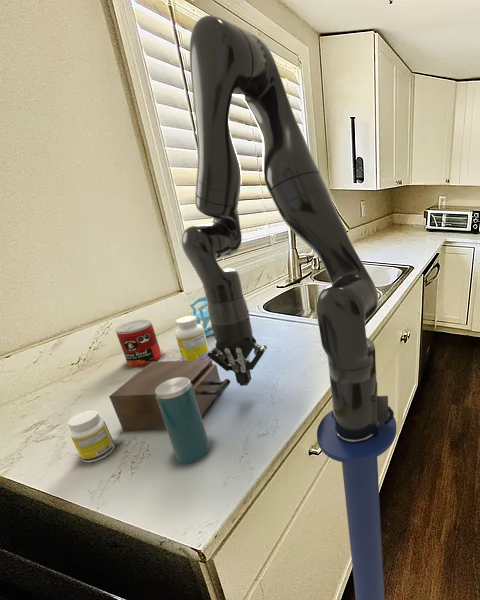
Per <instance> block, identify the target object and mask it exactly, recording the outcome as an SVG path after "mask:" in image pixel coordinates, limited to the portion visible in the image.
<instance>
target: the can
mask: <svg viewBox="0 0 480 600" xmlns="http://www.w3.org/2000/svg"><path fill="white" fill-rule="evenodd" d="M155 392H156V396H155V397H156V400H157V403H158V406H159V409H160V412H161V415H162V418H163V420H164V423H165V426H166V429H165V430H166V432H167V435H168V438H169V440H170V444H171V446H172V449H173V452H174V455H175V458H176V461H177V462H178V463H180V464H182V465H187V464H193V463H195V462H197V461H200V460H201V459H202V458H203V457H205V456H206V455H207V454H208V452H209V451H210V449H211V444H210V441H209V437H208V434H207V430H206V427H205V423H204V420H203V418H202V417H203V415H202V416H201V413H200V409H199V406H198V402H197V399H196V396H195V392H194V389H193V385H192V383H190V380H189V379H188V378H185V377H178V378H173V379H170V380H167V381H165V382H163V383H162V384H160V385H159V386H158V387H157V388H156V390H155Z"/></svg>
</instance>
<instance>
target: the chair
mask: <svg viewBox="0 0 480 600" xmlns="http://www.w3.org/2000/svg"><path fill="white" fill-rule="evenodd" d="M200 302H203V303H202V304H201V305H200V306H198V307H197V309H196V307H195V305H196V304H198V303H200ZM189 306H190V308H191V309H192V313H190V316H196V318H197V324H200V325H201V322H202V326H203V328H204V332H205V336H206V337H209V336H212V335H213V336H214V333H213V330H212V325H211V324H210V325H208V324H209V322H211V321H210V317H209V313H208V306H207V300H206V296H202V297H199V298H197V299H195V300H194V301H193V302H192V303H190V304H189ZM206 307H207V308H206ZM204 308H205V309H204ZM197 310H198V311H197ZM210 330H212V331H210Z"/></svg>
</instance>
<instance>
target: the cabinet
mask: <svg viewBox="0 0 480 600" xmlns="http://www.w3.org/2000/svg"><path fill="white" fill-rule="evenodd" d="M211 364H213V360H212V359H208V360H190V361H183V360H165V361H155V362H151V363H150V364H148V365H146V366H144V367H143V368H142V369H141V370H140V371H138V372H137V373H135V375H133V376H132V377H131V378H129V380H127V381H126V382H124V384H123V385H121V386H119V387H118V389H116V390H114V391H113V392H112V393H111V394H110V395H109V396H108V397H109V400H110V402H111V404H112V407H113V409H114V412H115V414H116V417H117V420H118V422H119V424H120V427H121V430H122V431H124V432H125V431H127V432H128V431H147V430H150V431H151V430H167V429H166V426H165V423H164V420H163V418H162V415H161V412H160V409H159V406H158V403H157V400H156V397H155V396H156V392H155V390H156V388H157V387H158V386H159V385H160V384H162V383H163V382H165V381H167V380H170V379H173V378H178V377H185V378H188V379H189V380H190V383H192V384H193V383H194V382H195V381H196V380H197V379H198V378H199V376H200V375H201V374H202V373H203V372H204V371H206V370H207V369H208V367H209V366H210V365H211Z"/></svg>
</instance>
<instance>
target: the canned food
mask: <svg viewBox="0 0 480 600" xmlns="http://www.w3.org/2000/svg"><path fill="white" fill-rule="evenodd" d="M115 333H116V336H117V339H118V342H119V344H120V348H121V350H122V352H123V355H124V357H125V361H126V363H127V364H128V366H129V367H130V368H141V367H146V366H147V365H148V364H150V363H151V362H158V360H159V359H160V358H161V357H162V352H161V348H160V345H159V341H158V339H157V335H156V333H155V329H154V326H153V323H152V321H151V320H150V319H136V320H132V321H128V322H125V323H122V324H120V325H119V326H117V327H116V328H115Z"/></svg>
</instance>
